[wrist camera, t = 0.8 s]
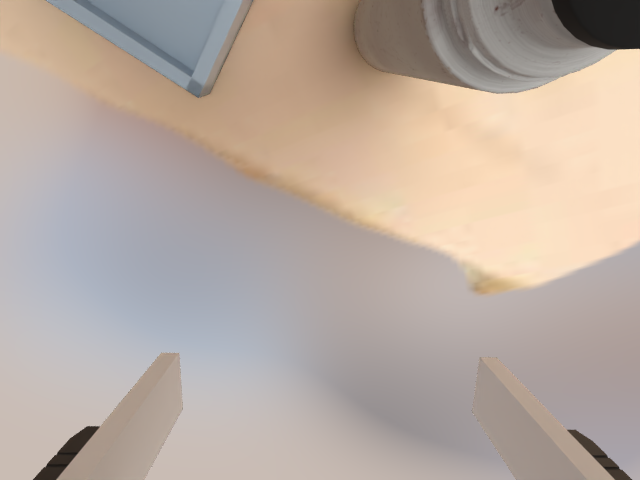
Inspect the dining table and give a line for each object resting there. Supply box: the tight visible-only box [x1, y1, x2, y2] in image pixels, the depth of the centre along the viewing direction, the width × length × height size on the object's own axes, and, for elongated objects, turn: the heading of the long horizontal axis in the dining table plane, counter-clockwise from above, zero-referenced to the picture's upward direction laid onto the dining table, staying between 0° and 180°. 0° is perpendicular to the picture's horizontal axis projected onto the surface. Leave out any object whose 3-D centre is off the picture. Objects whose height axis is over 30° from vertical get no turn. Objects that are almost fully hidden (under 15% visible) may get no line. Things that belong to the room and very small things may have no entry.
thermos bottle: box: [354, 0, 640, 93], centre depth 19 cm, size 8×8×28 cm
